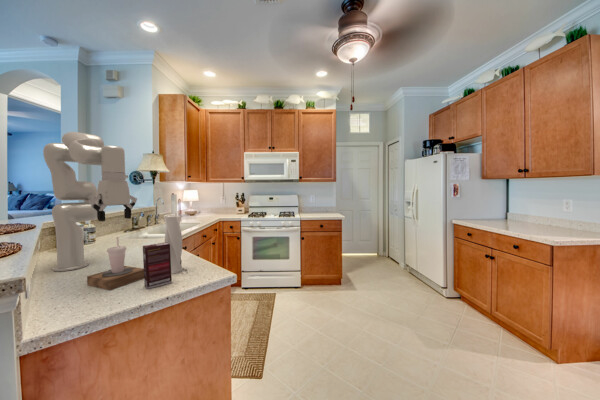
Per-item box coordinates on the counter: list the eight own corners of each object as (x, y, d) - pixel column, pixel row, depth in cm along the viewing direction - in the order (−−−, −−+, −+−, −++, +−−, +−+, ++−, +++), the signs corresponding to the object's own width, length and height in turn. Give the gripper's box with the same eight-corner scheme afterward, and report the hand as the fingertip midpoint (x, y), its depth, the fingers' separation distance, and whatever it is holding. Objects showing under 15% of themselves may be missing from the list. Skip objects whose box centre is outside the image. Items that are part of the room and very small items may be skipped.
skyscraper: (188, 271, 109) (186, 210, 108) (169, 276, 103) (167, 211, 102) (180, 268, 115) (178, 209, 114) (162, 272, 109) (160, 211, 108)
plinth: (87, 285, 94) (87, 275, 94) (124, 273, 107) (124, 264, 107) (110, 290, 89) (109, 279, 88) (146, 277, 102) (146, 268, 101)
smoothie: (131, 269, 101) (129, 235, 100) (118, 274, 94) (116, 238, 94) (117, 268, 101) (115, 235, 101) (103, 273, 95) (101, 238, 94)
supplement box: (168, 280, 98) (166, 241, 98) (172, 283, 95) (170, 243, 94) (143, 286, 92) (142, 245, 92) (146, 289, 89) (145, 247, 88)
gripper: (129, 178, 106) (131, 217, 106) (82, 176, 90) (84, 222, 90) (141, 178, 103) (142, 217, 104) (94, 176, 87) (96, 222, 87)
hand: (115, 219), depth 97 cm, fingers open, 9 cm apart
